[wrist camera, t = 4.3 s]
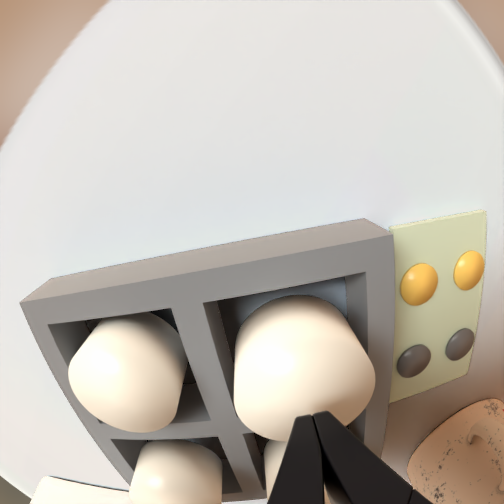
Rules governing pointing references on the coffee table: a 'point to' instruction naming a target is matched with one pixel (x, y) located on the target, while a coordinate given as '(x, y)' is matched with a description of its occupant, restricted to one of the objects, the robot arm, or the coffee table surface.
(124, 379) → the button
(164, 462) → the button
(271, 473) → the button
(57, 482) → the photo printer
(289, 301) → the button
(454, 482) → the teacup with lid
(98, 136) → the coffee table surface
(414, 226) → the lights out board
